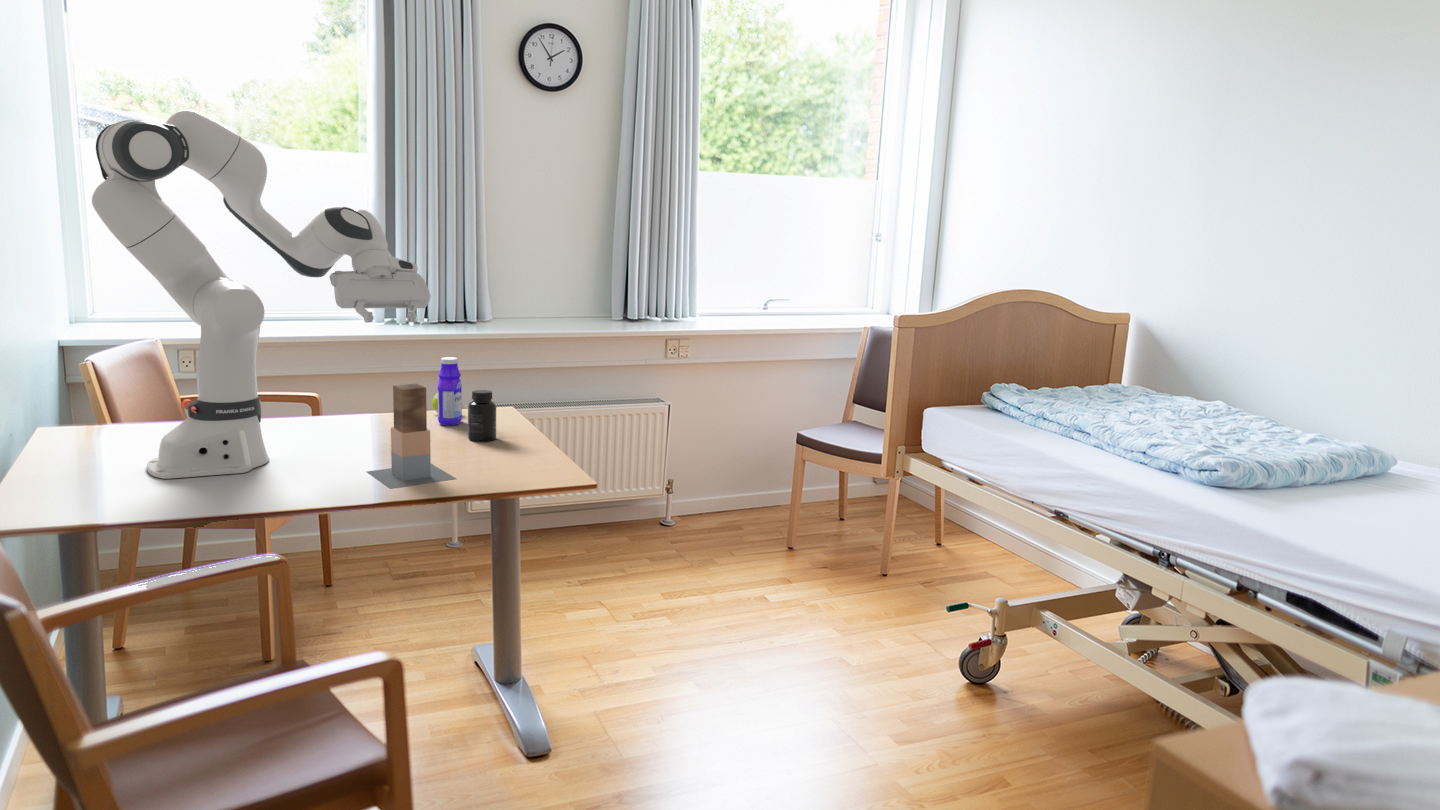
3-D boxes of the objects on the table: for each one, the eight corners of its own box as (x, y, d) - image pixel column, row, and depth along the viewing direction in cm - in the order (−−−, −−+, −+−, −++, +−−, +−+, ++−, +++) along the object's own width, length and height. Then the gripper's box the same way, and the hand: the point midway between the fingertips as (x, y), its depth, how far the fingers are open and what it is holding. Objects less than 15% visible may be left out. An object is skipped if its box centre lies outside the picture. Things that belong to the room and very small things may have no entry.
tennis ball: (457, 417, 248) (457, 393, 246) (431, 417, 246) (431, 393, 245) (458, 412, 254) (458, 388, 253) (433, 412, 253) (433, 388, 251)
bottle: (456, 426, 237) (456, 360, 234) (434, 425, 237) (434, 359, 234) (464, 420, 244) (464, 356, 241) (443, 419, 244) (443, 355, 241)
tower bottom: (402, 480, 188) (402, 457, 187) (391, 473, 193) (391, 450, 192) (430, 476, 192) (430, 453, 191) (419, 469, 196) (419, 447, 195)
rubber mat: (390, 490, 183) (390, 488, 183) (365, 473, 193) (365, 471, 193) (456, 480, 192) (456, 478, 192) (430, 464, 202) (430, 463, 202)
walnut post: (403, 432, 187) (402, 389, 185) (393, 427, 191) (393, 385, 189) (426, 430, 190) (426, 387, 188) (417, 425, 194) (416, 383, 192)
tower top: (402, 457, 187) (401, 433, 186) (391, 450, 192) (390, 427, 191) (430, 453, 191) (430, 430, 190) (419, 447, 195) (418, 424, 194)
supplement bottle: (501, 439, 227) (502, 392, 224) (477, 443, 222) (477, 395, 220) (486, 434, 231) (486, 387, 229) (462, 438, 226) (462, 390, 224)
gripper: (330, 261, 197) (345, 311, 192) (423, 264, 210) (439, 311, 205) (324, 280, 201) (339, 330, 196) (415, 281, 214) (431, 328, 209)
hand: (391, 320), depth 200 cm, fingers open, 8 cm apart
